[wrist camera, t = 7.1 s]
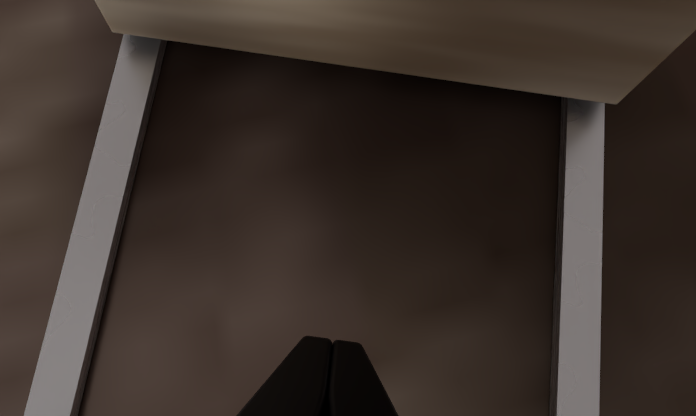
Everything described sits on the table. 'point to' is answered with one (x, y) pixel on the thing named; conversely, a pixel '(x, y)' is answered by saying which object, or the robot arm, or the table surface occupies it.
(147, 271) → the table surface
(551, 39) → the toy sofa
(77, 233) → the steel handle
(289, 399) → the robot arm
